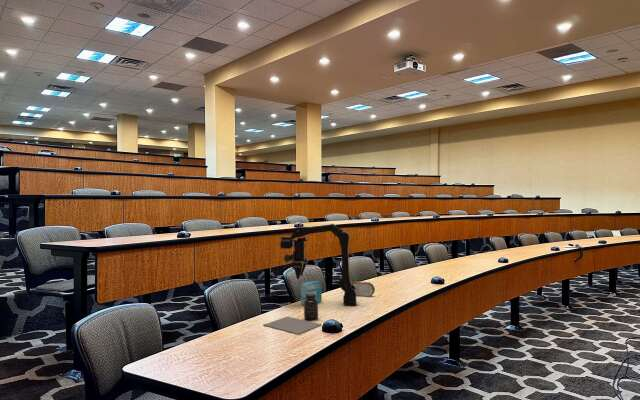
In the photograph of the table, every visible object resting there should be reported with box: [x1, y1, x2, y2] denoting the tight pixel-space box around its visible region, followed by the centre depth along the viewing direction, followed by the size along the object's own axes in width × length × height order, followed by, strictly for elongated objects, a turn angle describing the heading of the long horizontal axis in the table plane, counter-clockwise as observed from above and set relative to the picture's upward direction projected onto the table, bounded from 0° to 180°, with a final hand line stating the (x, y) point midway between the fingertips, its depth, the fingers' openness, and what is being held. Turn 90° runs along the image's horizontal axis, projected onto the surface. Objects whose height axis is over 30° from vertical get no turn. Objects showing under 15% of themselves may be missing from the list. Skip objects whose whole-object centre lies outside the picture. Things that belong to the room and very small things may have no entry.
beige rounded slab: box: [352, 281, 376, 298], centre depth 247 cm, size 15×3×8 cm, turn 71°
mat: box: [263, 316, 323, 336], centre depth 192 cm, size 16×22×1 cm
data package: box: [300, 280, 323, 306], centre depth 231 cm, size 12×4×12 cm, turn 137°
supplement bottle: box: [303, 293, 319, 322], centre depth 202 cm, size 7×7×12 cm
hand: (299, 277), depth 232 cm, fingers open, 9 cm apart
